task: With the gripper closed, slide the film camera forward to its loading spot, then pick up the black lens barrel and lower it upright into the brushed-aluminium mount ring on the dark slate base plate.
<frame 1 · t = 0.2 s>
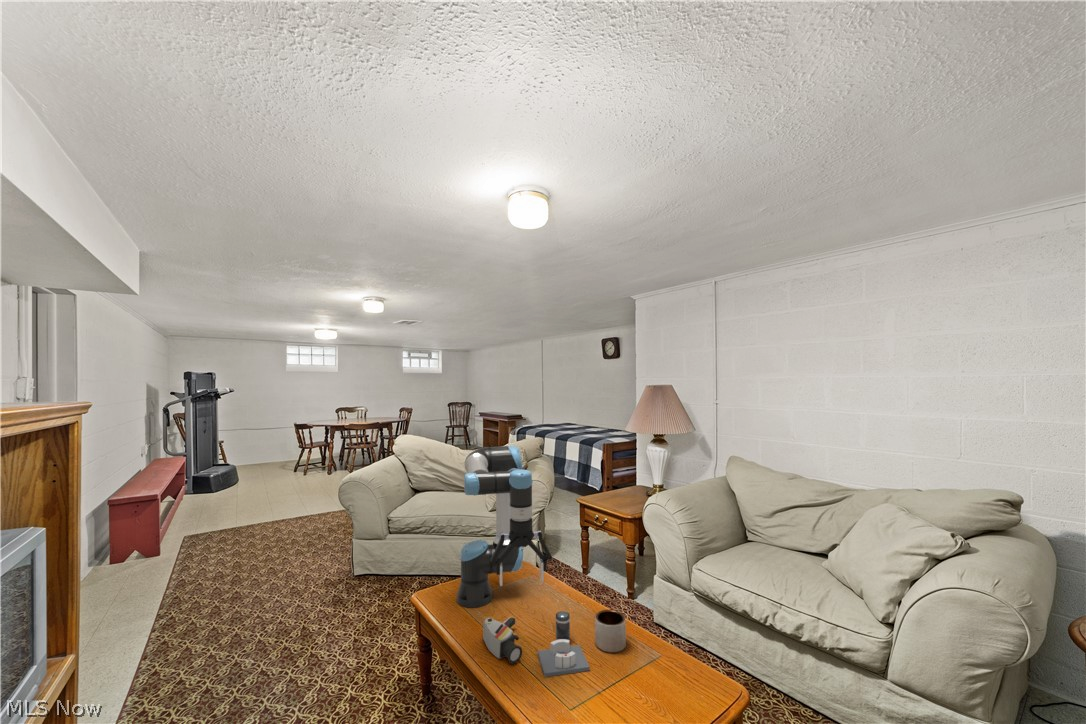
hand: (521, 582, 148), 28 cm above the table, fingers open, 13 cm apart
mount: (562, 662, 149), on the table
planter: (610, 645, 159), on the table
lens: (562, 640, 162), on the table
film camera: (509, 646, 159), on the table
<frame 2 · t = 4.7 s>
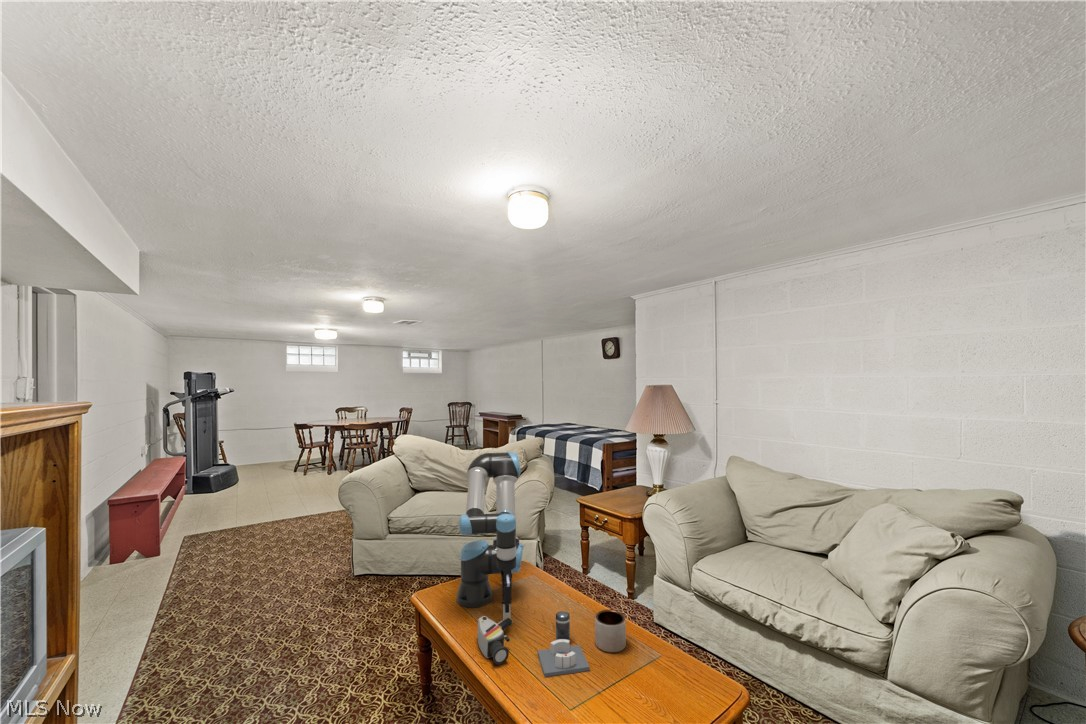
hand: (506, 619, 170), 3 cm above the table, fingers closed
film camera: (501, 646, 159), on the table, touching gripper
everything else where it was.
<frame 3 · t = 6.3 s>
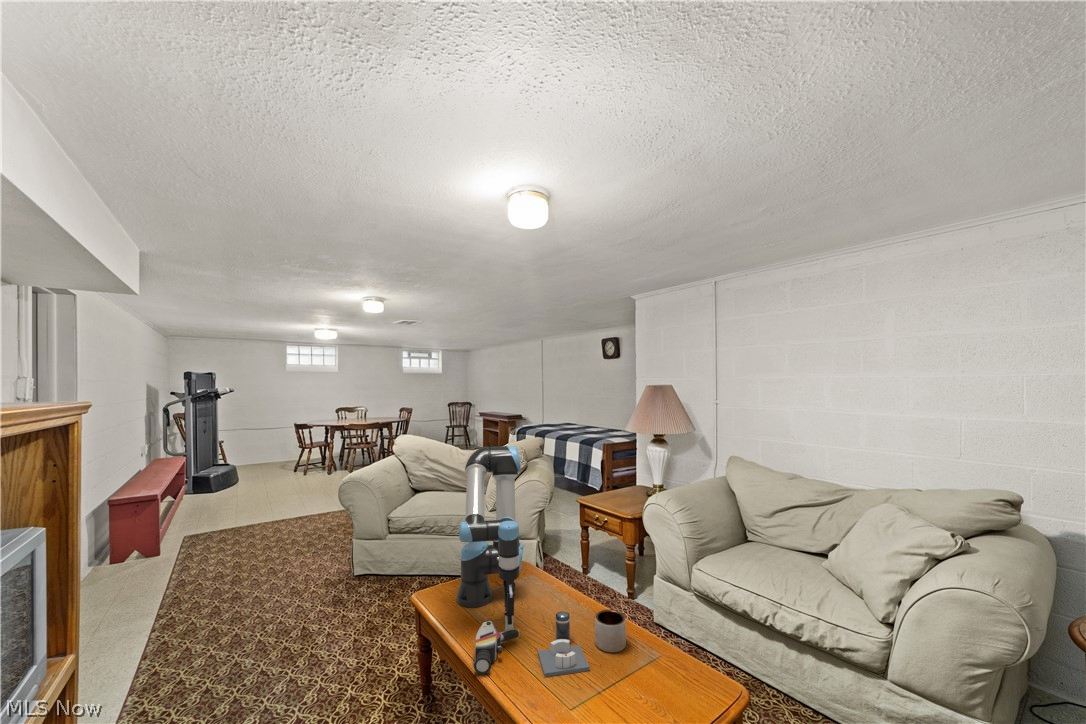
hand: (509, 631, 162), 3 cm above the table, fingers closed
film camera: (497, 656, 153), on the table, touching gripper
everything else where it was.
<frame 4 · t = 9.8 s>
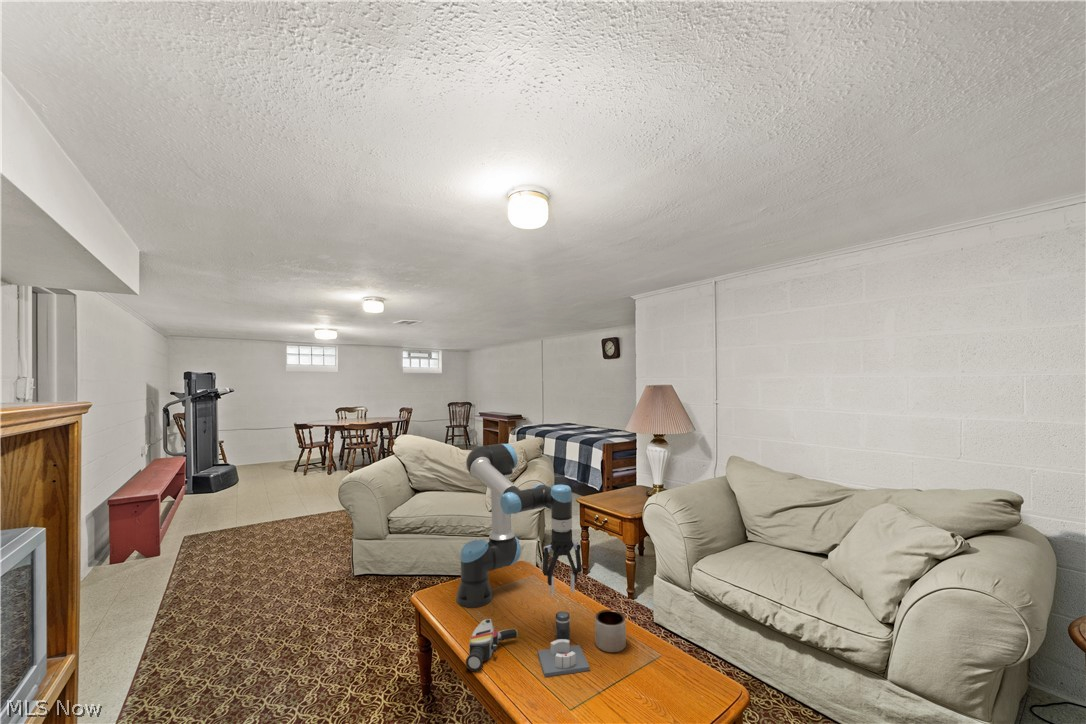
hand: (562, 592, 162), 17 cm above the table, fingers open, 7 cm apart
film camera: (492, 655, 154), on the table
everything else where it was.
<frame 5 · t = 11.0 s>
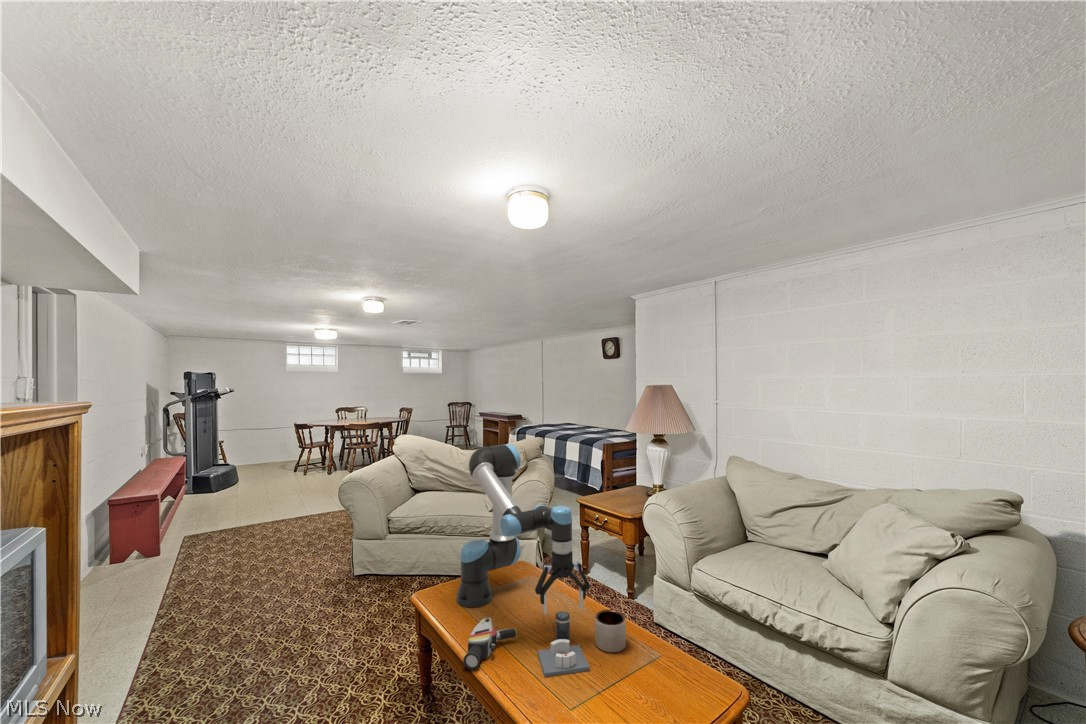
hand: (563, 610, 162), 11 cm above the table, fingers open, 13 cm apart
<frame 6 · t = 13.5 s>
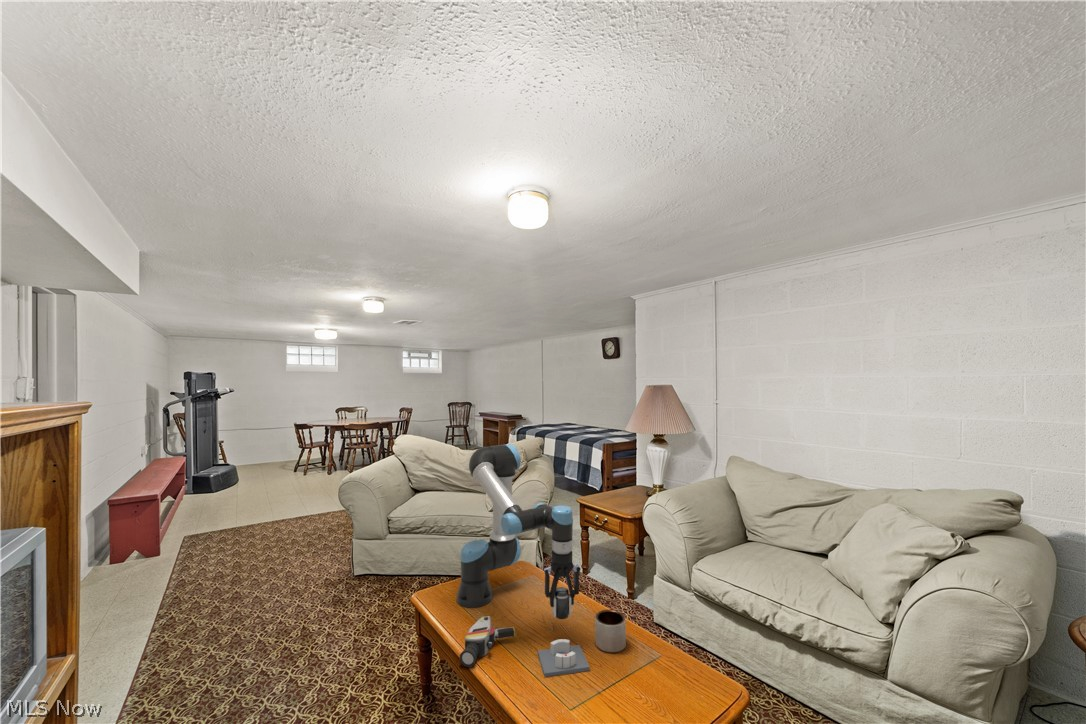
hand: (561, 614, 163), 9 cm above the table, fingers closed on lens, 5 cm apart
lens: (561, 615, 163), point 8 cm above the table, touching gripper
film camera: (488, 652, 156), on the table
everything else where it was.
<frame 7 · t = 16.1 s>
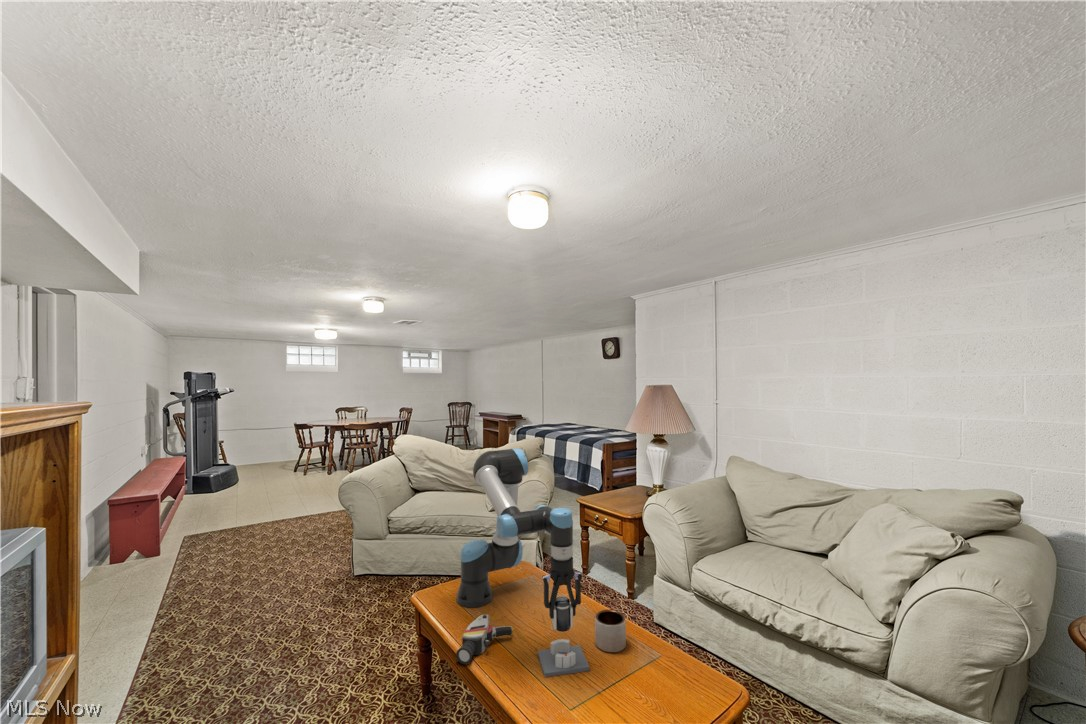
hand: (562, 626, 150), 12 cm above the table, fingers closed on lens, 5 cm apart
lens: (562, 627, 150), point 11 cm above the table, touching gripper
film camera: (486, 650, 157), on the table
everything else where it was.
when the fingers open (3 cm above the table, at t = 18.4 s): lens moves 1 cm, resting on mount.
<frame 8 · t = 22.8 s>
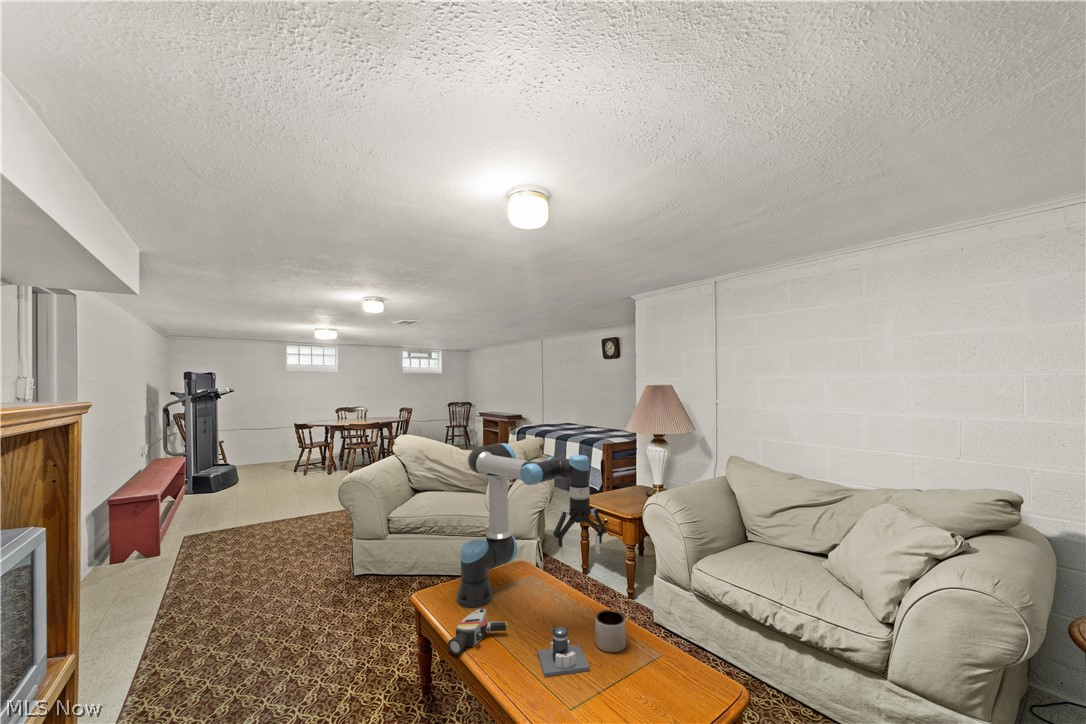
hand: (580, 553, 168), 29 cm above the table, fingers open, 13 cm apart
lens: (560, 658, 150), point 1 cm above the table, touching mount
film camera: (479, 643, 161), on the table
everything else where it was.
at the end: lens 0.9 cm off-centre on the mount, point 1.2 cm above the mount's base; lens tilted 1°; film camera moved 11.6 cm from its start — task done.
